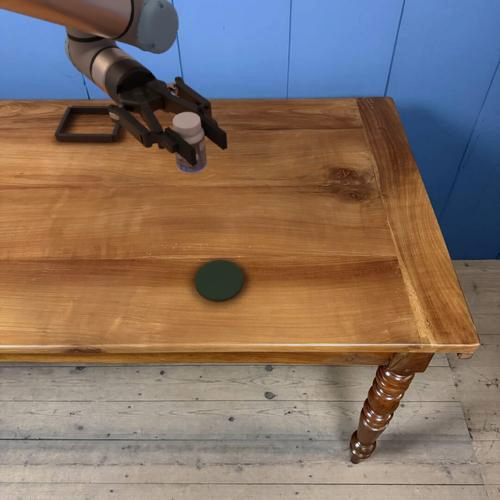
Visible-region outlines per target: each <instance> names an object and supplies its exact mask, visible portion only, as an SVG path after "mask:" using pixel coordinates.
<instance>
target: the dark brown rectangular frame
mask: <svg viewBox="0 0 500 500" xmlns="http://www.w3.org/2000/svg"><path fill="white" fill-rule="evenodd" d="M108 106H109V105H76V104H75V105H73V104H72V105H71V106H67V107H66V109H65V111H64V113H63V116H62V118H61V120H60V122H59V123H58V126H57V128H56V130H55V132H54V137H55V139H56V141H58V142H60V143H114V142H118V140H119V137H120V134H121V132H122V129H123V126H121V125H119V124H117V123H115V125H114V127H113V130H112V133H72V132H71V133H68V132H67V133H66V130H67V127H68V126H69V123H70V121H71V119H72V118H73V115H110V114H109V110H108Z"/></svg>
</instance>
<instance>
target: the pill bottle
mask: <svg viewBox="0 0 500 500" xmlns="http://www.w3.org/2000/svg"><path fill="white" fill-rule="evenodd" d="M172 130H173V131H174V132H176V133H177V134H178V135H179V136H180V137H182V138H183V139H184V140H185V141H186V142H188V143H189V144H190V145H191V146H192V147H194V148H195V151H196V159H197V164H196V165H195V166H192V165H191V164H189V163H188V162H187V161H186V160H185V159H184V158H182V157H181V156H180V155H179V154H178V153H177V152H175V153H174V155H175V162H176V167H177V169H178V170H179V171H180V172H181V173H183V174H186V175H196V174H200V173H201V172H202V171H204V170H205V169H206V167H207V165H208V159H207V148H206V136H205V135H204V130H203V128H202V127H201V120H200V117H199V116H198V115H197V114H195V113H192V112H183V113H180V114H178V115H176V114H175V115H174V117H173V119H172Z"/></svg>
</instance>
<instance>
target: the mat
mask: <svg viewBox="0 0 500 500" xmlns="http://www.w3.org/2000/svg"><path fill="white" fill-rule="evenodd" d="M194 285H195V286H194V287H195V289H196V291H197V293H199V295H200V296H201V297H202V298H204V299H206V300H208V301H211V302H219V303H220V302H225V301H226V302H227V301H229V300H231V299H233V298H235V297H236V296H237V295H239V293H240V292H241V290H242V289H243V286H244V274H243V271H242V270H241V268H240V267H239V266H238V265H237V264H235V263H234V262H232V261H229V260H224V259H215V260H211V261H208V262H207V263H204V264H203V265H202V266H201V267H200V268H198V270H197V272H196V274H195V276H194Z"/></svg>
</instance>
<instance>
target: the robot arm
mask: <svg viewBox="0 0 500 500" xmlns="http://www.w3.org/2000/svg"><path fill="white" fill-rule="evenodd" d="M0 10H4V11H7V12H11V13H15V14H18V15H22V16H26V17H30V18H33V19H36V20H40V21H44V22H47V23H50V24H53V25H58V26H61V27H64V29H65V33H66V37H65V38H64V39H65V41H64V47H63V49H64V52H65V55H66V58H67V59H68V61H69V62H70V63H71V65H72V66H73V67H74V68H75V69H76V70H77V71H78V72H79V73H80V74H82V75H83V76H84V77H86V78H87V79H88V80H89V81H90V82H92V83H93V84H94V85H95V86H96V87H98V88H99V89H100V90H101V91H102V92H103V93H105V95H107V96H108V97H109V98H110V99H111V100H112V101H113V102H114V103H116V104H113V103H111V104H108V105H107V106H108V110H109V114H108V115H109V117H110V120H111V122H112V123H114V124H116V123H117V124H119V125H121V126H122V128H123V129H125V130H126V131H127V132H128V133H129V134H130V135H131V136H132V137H133V138H134V139H135V140H136V141H137V142H138V143H140V144H141V145H142V146H143V147H144V148H146V149H150V148H152V147H153V145H156V144H157V148H158V149H159V150H166V151H167V152H168V153H171V154H175V152H177V153H178V154H179V155H180V156H181V157H182V158H184V159H185V160H186V161H187V162H188V163H189V164H191V165H192V166H195V165H196V164H197V159H196V151H195V148H194V147H192V146H191V145H190V144H189V143H188V142H186V141H185V140H184V139H183V138H182V137H180V136H179V135H178V134H177V133H176V132H174V131H173V130H174V129H173V128H171V127H169V126H167V127H165V128H163V126H162V124H161V123H160V121H159V119H158V118H157V116H156V115H155V112H156V111H162V112H164V113H166V114H169V113H172V114H174V115H175V116H176V115H178V114H180V113H183V112H192V113H195V114H197V115H198V116H199V117H200V120H201V127H202V128H203V130H204V135H205V138H207V139H208V140H210V141H211V142H212V143H213V144H215V145H216V146H217V147H218V148H219V149H220V150H222V151H225V150H227V149H228V137H227V136H228V133H227V132H226V131H225V130H223V129H222V128H221V127H219V123H218V121H217V120H216V119H214V118H213V112H212V102H211V101H210V100H208V99H207V98H206V97H204V96H203V95H201V94H200V93H199V92H197V91H196V90H195V89H194V88H192V87H191V86H189V85H187V84H186V83H185V81H184V79H183V77H182V76H175V77H174V81H173V82H168V83H167V82H166V81H164V80H161V79H158V78H157V77H156V76H155V74H154V73H153V72H152V70H150V69H148V67H146V66H144V64H142V63H141V62H139V61H138V60H137V59H136V58H135V57H133V56H132V55H130V54H129V53H127V52H126V51H125V50H123V48H121V47H120V46H118V44H117V42H118V43H120V44H121V43H122V44H124V45H128V46H132V47H135V48H137V49H139V50H140V51H143V52H147V53H150V54H155V55H160V54H161V55H162V54H164V53H166V52H167V51H169V50H170V49H171V48H172V47H173V45H174V44H175V42H176V40H177V35H178V31H179V26H180V20H179V15H178V12H177V10H176V8H175V6H174V5H173V4H172V2H170V1H169V0H0ZM133 114H137V115H139V116H140V118H141V119H142V122H143V123H145V125H146V126H145V125H144V124H143V123H141V122H140V120H138V118H136V117H135V116H134V115H133Z"/></svg>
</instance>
